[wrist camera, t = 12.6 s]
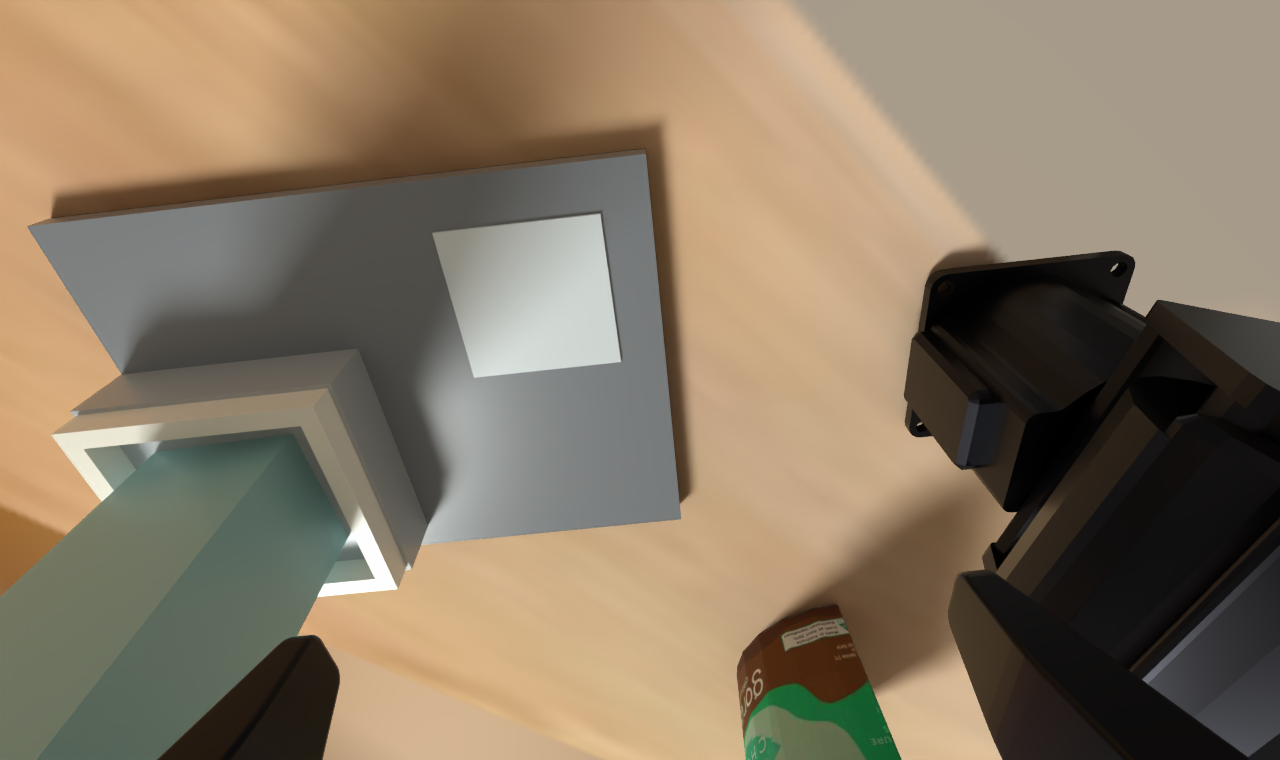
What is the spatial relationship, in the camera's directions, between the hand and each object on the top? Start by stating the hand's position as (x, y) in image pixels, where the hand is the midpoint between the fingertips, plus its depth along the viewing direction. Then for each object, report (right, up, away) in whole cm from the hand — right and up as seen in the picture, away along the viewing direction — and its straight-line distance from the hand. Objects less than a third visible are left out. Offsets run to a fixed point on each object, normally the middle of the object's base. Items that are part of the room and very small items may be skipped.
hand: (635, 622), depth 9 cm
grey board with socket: (-8, +3, +13) cm, 16 cm away
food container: (+7, -11, +22) cm, 26 cm away
